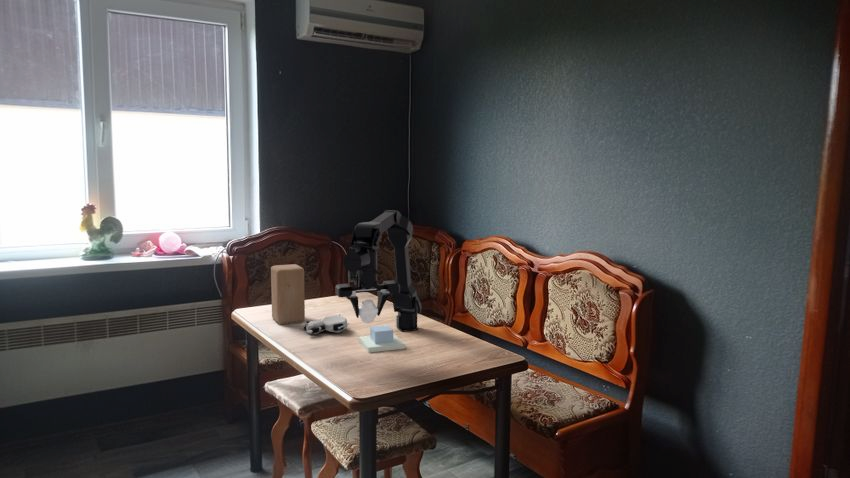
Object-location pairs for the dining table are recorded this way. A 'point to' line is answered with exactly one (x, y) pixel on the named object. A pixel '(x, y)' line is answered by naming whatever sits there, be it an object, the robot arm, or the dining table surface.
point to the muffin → (368, 311)
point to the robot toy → (326, 325)
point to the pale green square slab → (373, 347)
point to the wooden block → (287, 293)
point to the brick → (381, 334)
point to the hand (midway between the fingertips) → (367, 316)
